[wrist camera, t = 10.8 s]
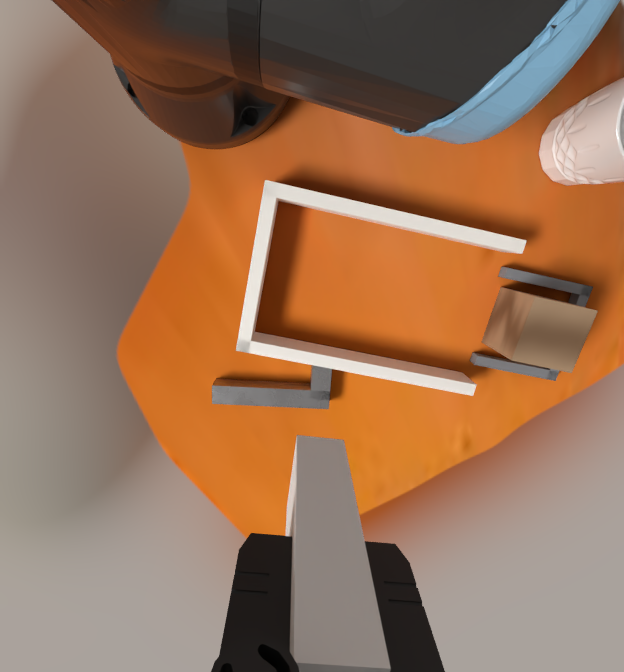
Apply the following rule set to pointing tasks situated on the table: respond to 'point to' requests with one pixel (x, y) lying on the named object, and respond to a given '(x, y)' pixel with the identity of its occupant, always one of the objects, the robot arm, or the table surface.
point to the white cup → (587, 140)
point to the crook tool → (276, 391)
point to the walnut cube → (538, 329)
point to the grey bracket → (578, 290)
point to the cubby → (337, 356)
